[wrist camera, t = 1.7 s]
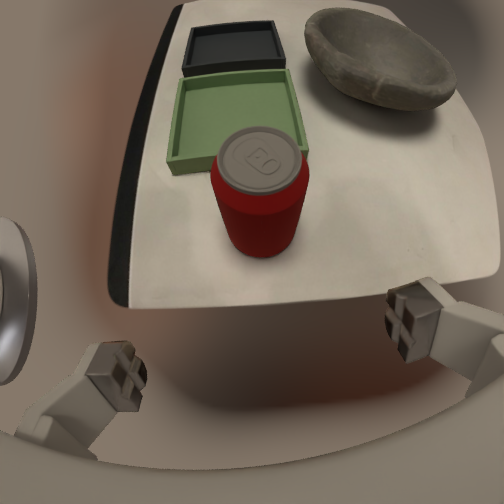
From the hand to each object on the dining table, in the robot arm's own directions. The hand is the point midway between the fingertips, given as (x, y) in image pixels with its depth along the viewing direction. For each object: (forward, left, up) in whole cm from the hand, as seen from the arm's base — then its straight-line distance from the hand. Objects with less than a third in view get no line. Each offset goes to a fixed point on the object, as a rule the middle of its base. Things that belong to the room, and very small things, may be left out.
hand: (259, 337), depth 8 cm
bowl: (+20, +34, -18) cm, 43 cm away
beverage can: (+1, +11, -18) cm, 21 cm away
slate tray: (-1, +44, -18) cm, 47 cm away
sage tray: (-1, +26, -18) cm, 31 cm away
